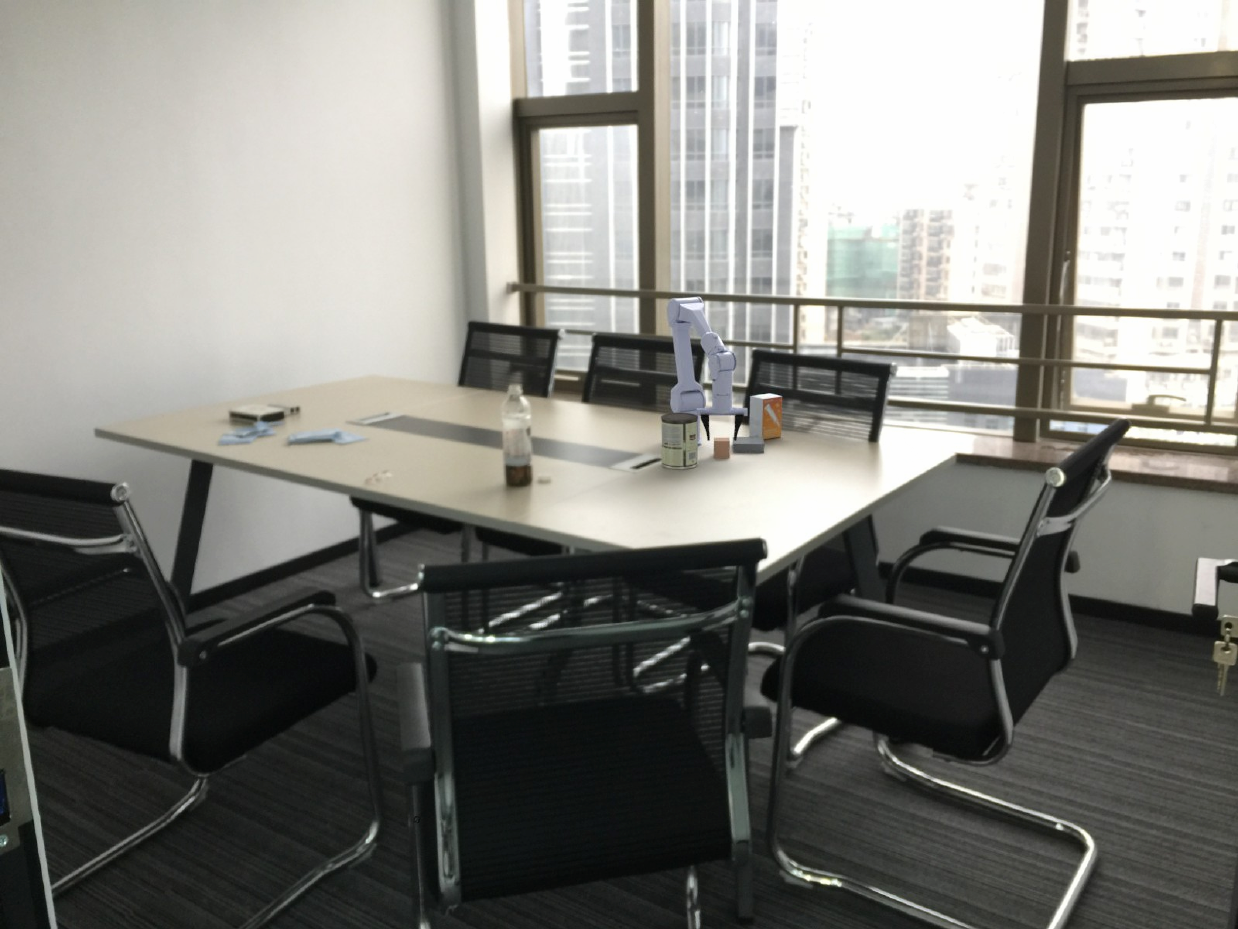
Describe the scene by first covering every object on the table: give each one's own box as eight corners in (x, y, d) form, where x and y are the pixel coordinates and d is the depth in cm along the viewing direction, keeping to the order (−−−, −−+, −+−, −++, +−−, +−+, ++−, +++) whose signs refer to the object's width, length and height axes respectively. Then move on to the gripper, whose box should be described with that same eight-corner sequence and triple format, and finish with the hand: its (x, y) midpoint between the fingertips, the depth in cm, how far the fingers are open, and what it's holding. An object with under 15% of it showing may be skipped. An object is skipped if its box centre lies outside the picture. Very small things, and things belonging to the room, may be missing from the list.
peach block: (713, 457, 310) (713, 441, 308) (713, 454, 314) (713, 437, 313) (729, 458, 309) (729, 441, 308) (729, 454, 314) (729, 437, 312)
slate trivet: (733, 453, 316) (733, 443, 315) (732, 446, 325) (732, 436, 324) (763, 453, 315) (764, 443, 314) (762, 446, 324) (762, 436, 323)
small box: (762, 440, 330) (762, 398, 327) (748, 436, 335) (749, 395, 332) (781, 436, 334) (782, 395, 331) (768, 433, 339) (769, 392, 336)
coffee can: (667, 459, 308) (667, 411, 305) (701, 461, 305) (702, 413, 302) (656, 468, 299) (656, 418, 295) (692, 470, 296) (692, 420, 292)
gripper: (696, 396, 304) (696, 442, 307) (748, 396, 303) (747, 443, 306) (696, 391, 311) (696, 437, 314) (747, 391, 309) (746, 437, 313)
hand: (721, 439), depth 310 cm, fingers open, 7 cm apart
